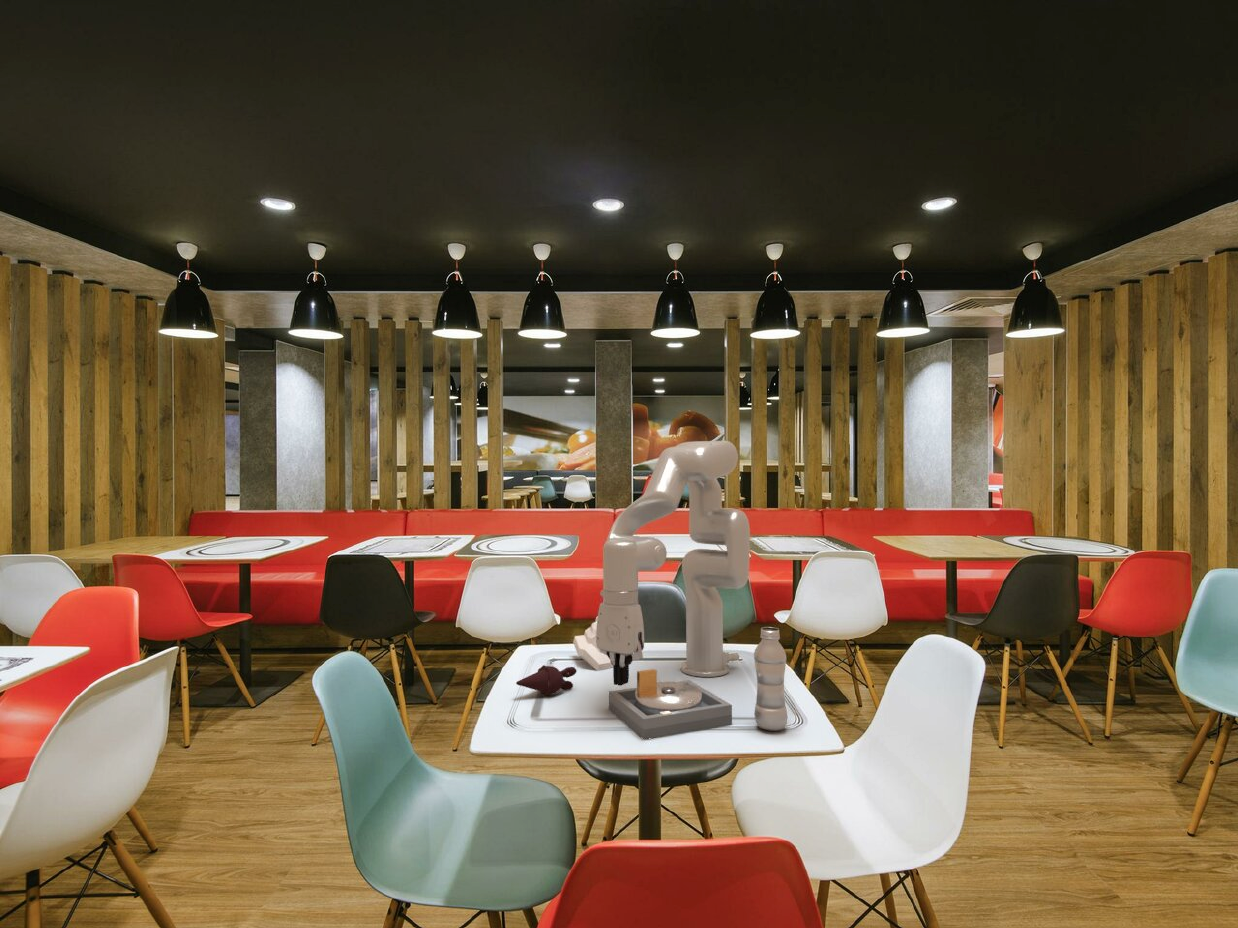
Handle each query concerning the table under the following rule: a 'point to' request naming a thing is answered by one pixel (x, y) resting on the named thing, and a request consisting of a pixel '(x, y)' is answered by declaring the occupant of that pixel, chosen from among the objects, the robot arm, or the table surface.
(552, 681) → the icecream
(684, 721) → the tray
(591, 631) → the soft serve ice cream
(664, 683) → the dial
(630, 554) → the robot arm
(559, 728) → the table surface
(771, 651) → the plastic bottle
